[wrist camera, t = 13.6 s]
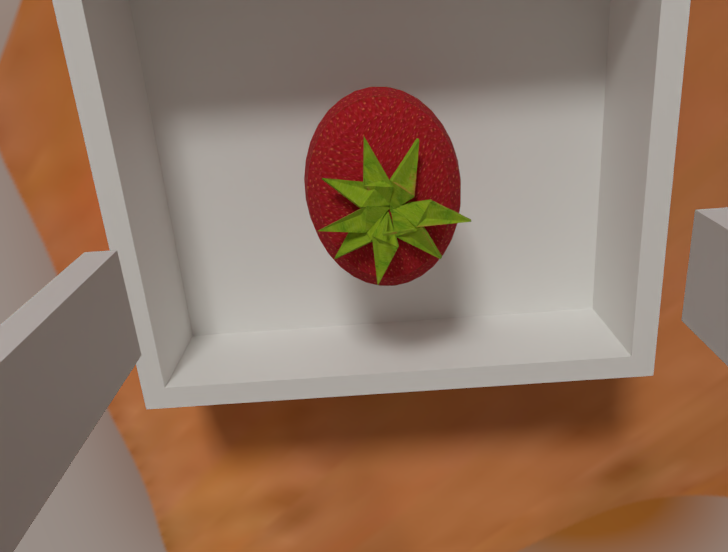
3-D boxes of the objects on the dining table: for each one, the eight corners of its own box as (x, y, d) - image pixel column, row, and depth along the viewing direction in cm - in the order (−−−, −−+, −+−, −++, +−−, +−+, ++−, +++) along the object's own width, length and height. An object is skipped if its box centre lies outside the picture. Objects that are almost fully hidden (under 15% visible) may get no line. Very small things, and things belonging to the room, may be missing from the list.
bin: (106, -33, 27) (41, -47, 22) (630, -77, 27) (700, -103, 21) (181, 345, 34) (146, 409, 28) (604, 316, 33) (653, 375, 28)
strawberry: (436, 66, 28) (476, 88, 19) (449, 232, 31) (490, 323, 21) (300, 84, 28) (274, 114, 19) (325, 247, 31) (312, 343, 22)
